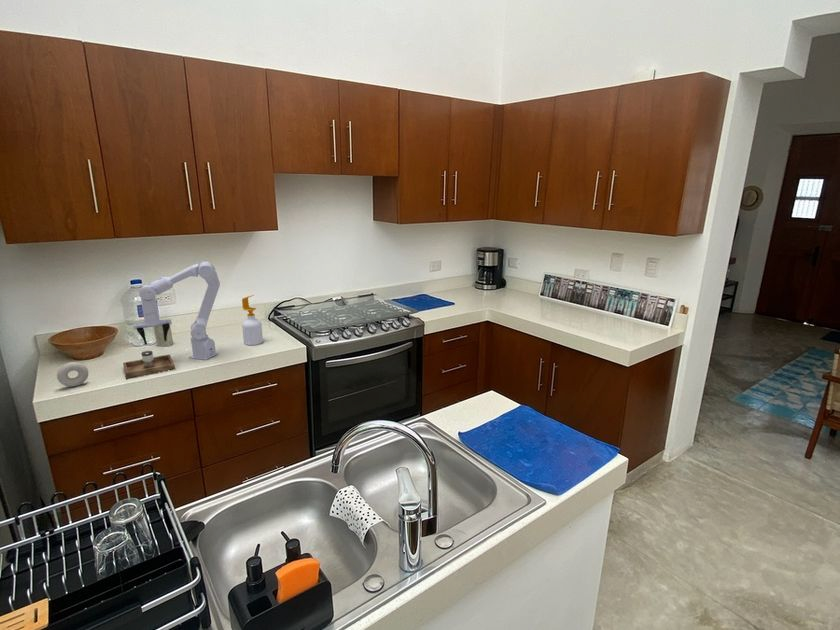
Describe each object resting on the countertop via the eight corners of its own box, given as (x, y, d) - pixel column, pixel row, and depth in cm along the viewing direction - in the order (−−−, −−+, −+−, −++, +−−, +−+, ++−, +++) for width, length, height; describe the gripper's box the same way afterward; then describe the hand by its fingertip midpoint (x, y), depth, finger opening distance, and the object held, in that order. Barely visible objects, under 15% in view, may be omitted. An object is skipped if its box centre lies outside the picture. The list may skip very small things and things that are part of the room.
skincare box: (173, 343, 228) (170, 320, 225) (169, 346, 224) (165, 322, 221) (160, 343, 228) (157, 320, 225) (156, 346, 224) (152, 322, 220)
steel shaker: (157, 366, 198) (154, 351, 196) (149, 369, 194) (146, 354, 192) (149, 365, 199) (147, 350, 197) (141, 368, 195) (139, 353, 194)
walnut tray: (170, 359, 207) (169, 354, 207) (175, 369, 196) (174, 364, 196) (123, 368, 197) (122, 362, 196) (126, 379, 186) (125, 373, 186)
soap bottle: (255, 346, 225) (250, 298, 218) (240, 344, 228) (235, 296, 221) (266, 340, 233) (262, 294, 226) (252, 338, 236) (247, 292, 229)
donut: (60, 391, 175) (54, 367, 172) (59, 388, 178) (53, 364, 175) (91, 383, 182) (86, 360, 179) (90, 381, 184) (85, 358, 181)
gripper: (167, 308, 205) (172, 336, 209) (130, 313, 197) (135, 342, 201) (170, 311, 200) (175, 340, 204) (132, 317, 192) (137, 347, 195)
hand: (155, 342), depth 202 cm, fingers open, 7 cm apart
